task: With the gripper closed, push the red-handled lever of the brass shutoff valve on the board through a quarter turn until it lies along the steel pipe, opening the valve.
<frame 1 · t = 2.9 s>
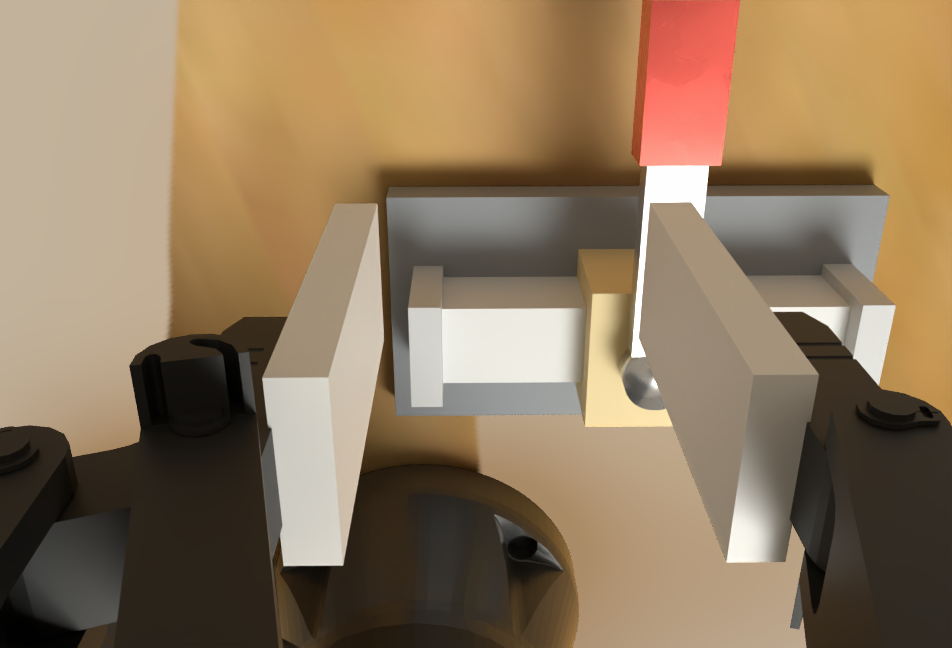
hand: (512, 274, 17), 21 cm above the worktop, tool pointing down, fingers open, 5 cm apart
valve board: (624, 297, 40), on the worktop
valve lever: (669, 220, 31), point 7 cm above the worktop, hinge at 0.0°
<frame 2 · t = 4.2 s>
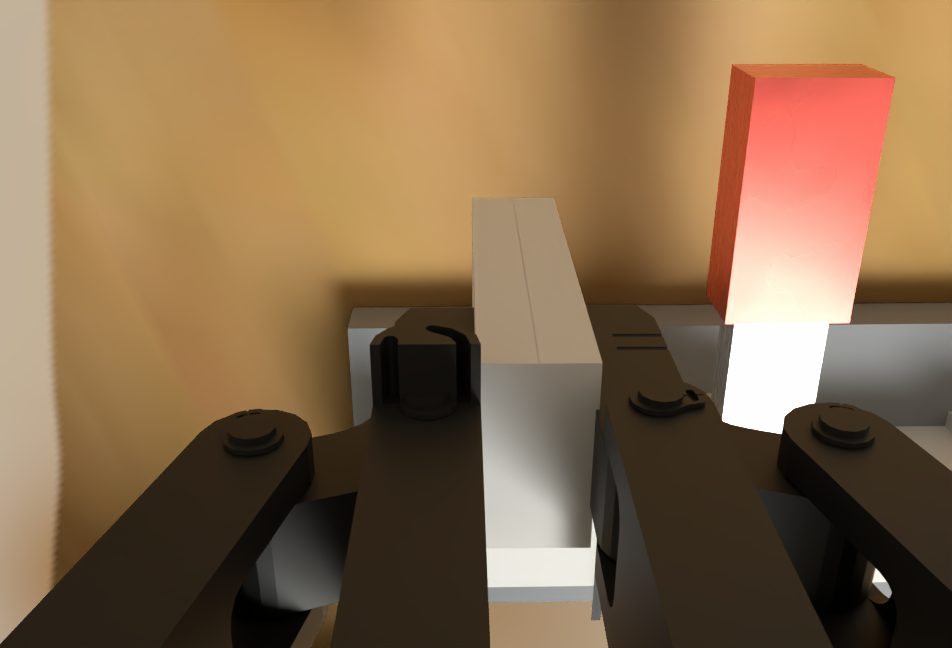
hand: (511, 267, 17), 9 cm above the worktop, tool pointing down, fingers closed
valve board: (672, 447, 30), on the worktop
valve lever: (762, 393, 21), point 7 cm above the worktop, hinge at 0.0°
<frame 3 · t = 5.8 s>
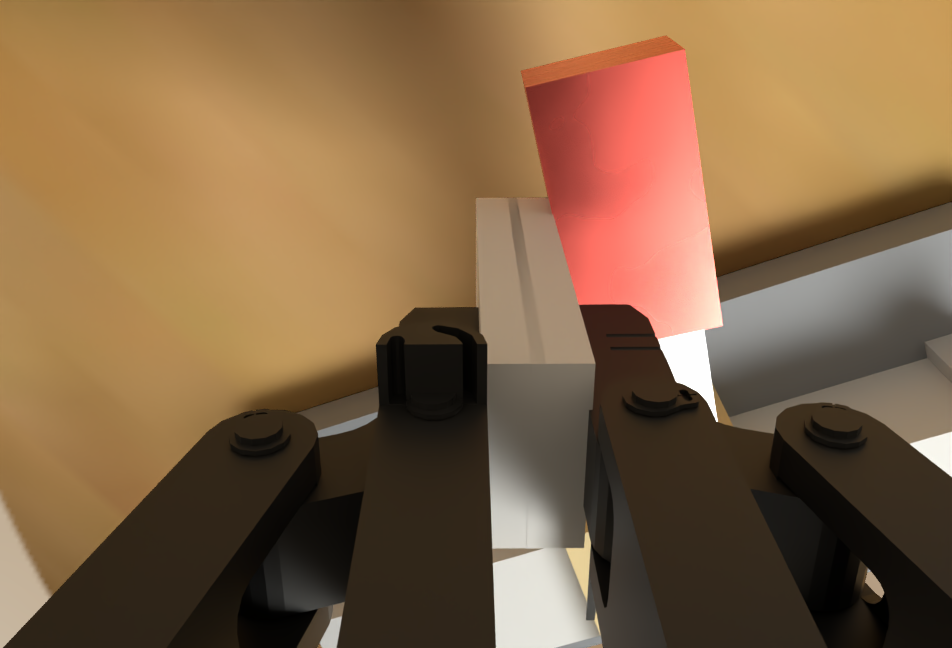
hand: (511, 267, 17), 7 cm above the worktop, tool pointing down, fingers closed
valve board: (647, 459, 27), on the worktop
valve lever: (661, 414, 18), point 7 cm above the worktop, hinge at 6.5°, touching gripper
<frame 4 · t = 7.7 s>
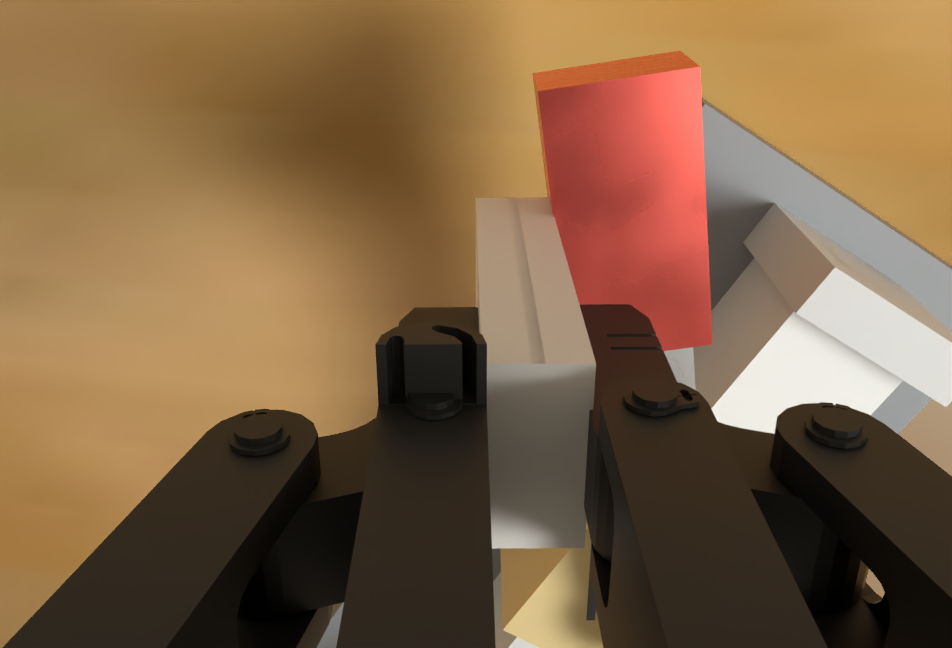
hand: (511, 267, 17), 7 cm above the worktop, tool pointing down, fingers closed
valve board: (619, 469, 27), on the worktop
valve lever: (642, 427, 18), point 7 cm above the worktop, hinge at 49.5°, touching gripper
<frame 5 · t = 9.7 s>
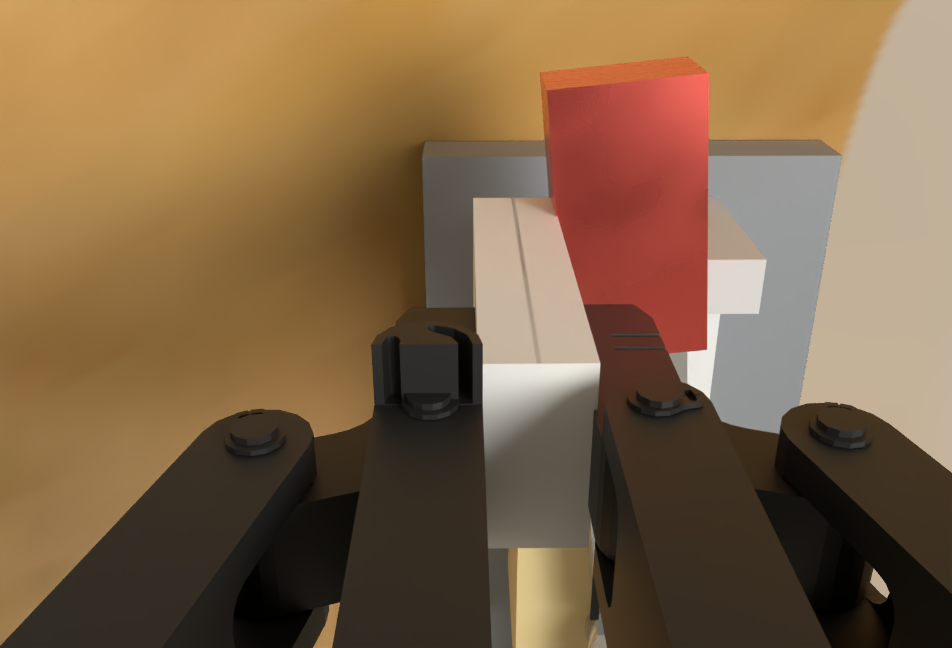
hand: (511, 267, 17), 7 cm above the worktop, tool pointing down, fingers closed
valve board: (600, 471, 27), on the worktop
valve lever: (632, 430, 18), point 7 cm above the worktop, hinge at 84.2°, touching gripper
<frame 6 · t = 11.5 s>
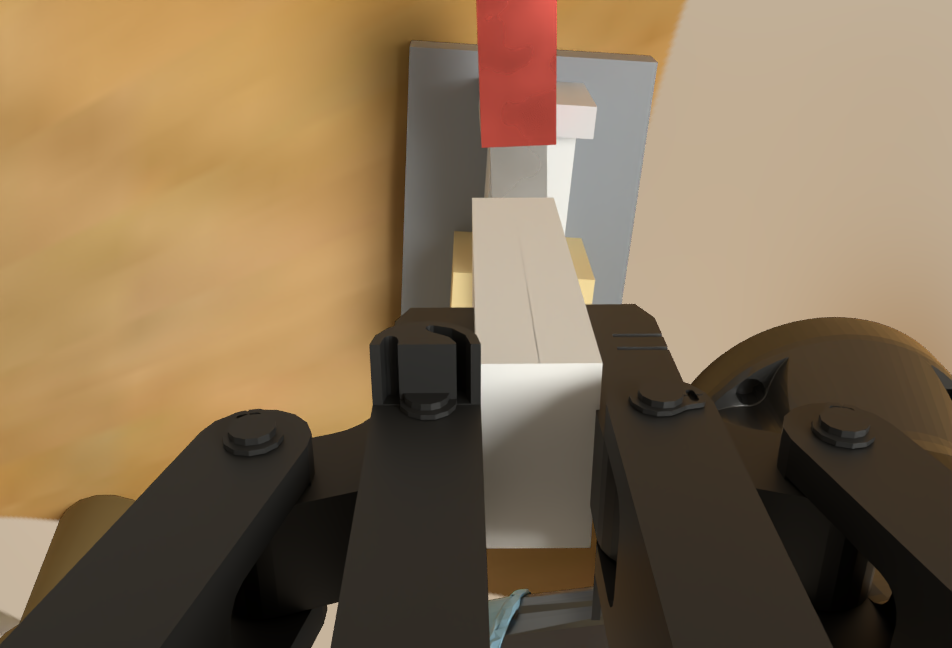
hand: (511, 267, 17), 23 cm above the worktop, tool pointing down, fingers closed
valve board: (511, 269, 42), on the worktop
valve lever: (518, 196, 33), point 7 cm above the worktop, hinge at 84.2°
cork: (116, 538, 49), on the worktop
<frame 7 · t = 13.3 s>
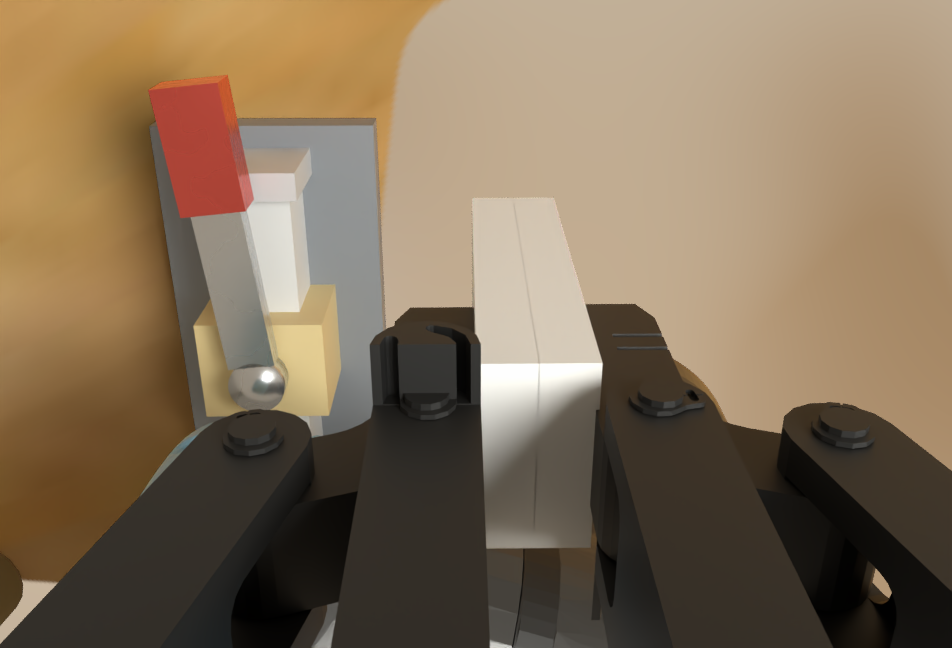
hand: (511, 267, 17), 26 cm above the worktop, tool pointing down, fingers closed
valve board: (286, 315, 46), on the worktop
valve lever: (229, 257, 38), point 7 cm above the worktop, hinge at 84.2°
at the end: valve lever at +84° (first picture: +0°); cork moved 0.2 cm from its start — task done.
